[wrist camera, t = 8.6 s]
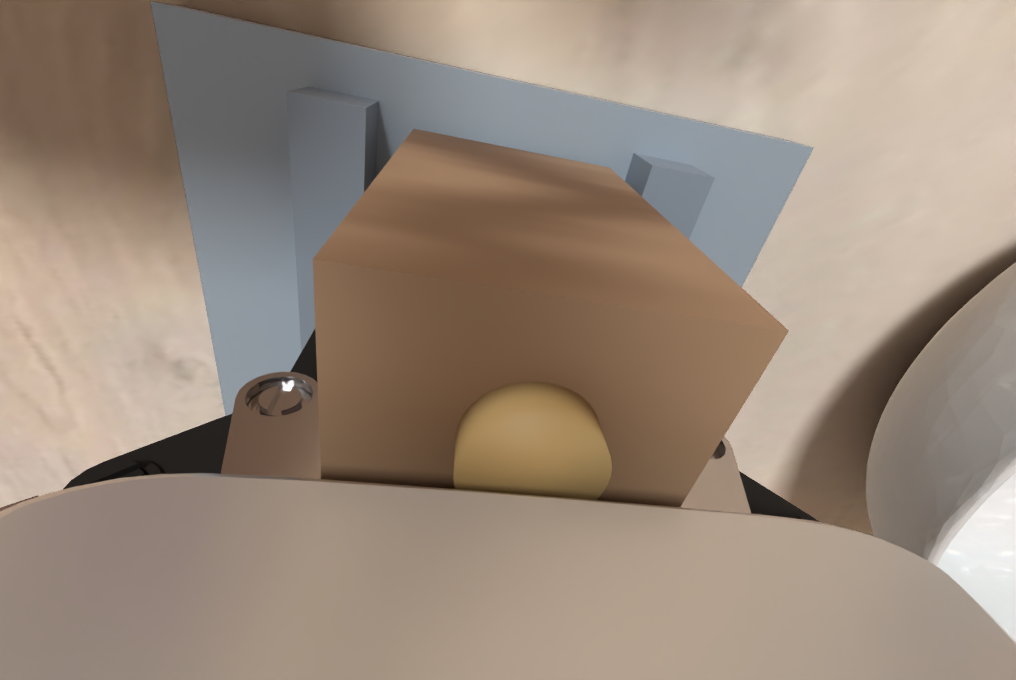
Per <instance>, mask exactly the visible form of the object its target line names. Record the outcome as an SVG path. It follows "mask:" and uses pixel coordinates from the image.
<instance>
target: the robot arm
mask: <svg viewBox="0 0 1016 680" xmlns="http://www.w3.org/2000/svg"><path fill="white" fill-rule="evenodd" d="M0 680H1016V641H1015V640H1014V639H1013V638H1012V637H1011V636H1010V635H1009V634H1008V633H1007V632H1006V631H1005V630H1004V629H1003V628H1002V627H1001V626H1000V625H999V623H998V622H997V621H996V620H995V619H994V618H993V617H992V616H991V615H990V614H989V613H988V612H987V611H986V610H985V609H984V608H983V607H982V606H981V605H980V604H979V603H978V602H977V601H976V600H975V599H974V598H973V597H972V596H971V595H970V594H969V593H967V592H966V591H965V590H964V589H963V588H962V587H961V586H960V585H959V584H958V583H957V582H956V581H955V580H953V579H952V578H951V577H950V576H949V575H948V574H947V573H945V572H944V571H943V570H941V569H940V568H939V567H937V566H936V565H934V564H933V563H931V562H929V561H927V560H925V559H923V558H922V557H920V556H918V555H916V554H914V553H912V552H910V551H908V550H906V549H904V548H902V547H900V546H897V545H895V544H892V543H890V542H887V541H885V540H882V539H880V538H877V537H875V536H872V535H869V534H866V533H862V532H859V531H855V530H852V529H849V528H845V527H841V526H837V525H832V524H827V523H822V522H819V521H818V520H816V519H815V518H813V517H811V516H810V515H808V514H807V513H805V512H803V511H802V510H800V509H799V508H797V507H795V506H794V505H792V504H791V503H789V502H788V501H786V500H784V499H783V498H781V497H780V496H778V495H776V494H775V493H773V492H772V491H770V490H768V489H767V488H765V487H764V486H762V485H760V484H759V483H757V482H756V481H754V480H752V479H751V478H749V477H748V476H746V475H744V474H743V473H741V472H740V471H739V470H738V466H737V463H736V459H735V456H734V453H733V449H732V447H731V445H730V443H729V441H728V440H727V439H726V438H725V437H723V438H722V440H721V442H720V443H719V445H718V447H717V448H716V450H715V451H714V453H713V455H712V456H711V458H710V460H709V461H708V463H707V464H706V466H705V468H704V469H703V471H702V473H701V474H700V476H699V477H698V479H697V481H696V482H695V484H694V486H693V487H692V489H691V490H690V492H689V494H688V495H687V497H686V499H685V500H684V502H683V503H682V505H681V507H670V506H658V505H646V504H635V503H623V502H611V501H599V500H587V499H574V498H562V497H549V496H537V495H524V494H512V493H499V492H486V491H473V490H460V489H447V488H433V487H420V486H406V485H393V484H379V483H366V482H352V481H338V480H325V479H321V463H320V437H319V411H318V385H317V359H316V332H315V329H314V331H313V333H312V334H311V336H310V338H309V340H308V341H307V343H306V345H305V347H304V348H303V350H302V352H301V354H300V355H299V357H298V359H297V361H296V362H295V364H294V366H293V368H292V369H291V371H290V372H275V373H269V374H266V375H262V376H259V377H256V378H255V379H253V380H251V381H249V382H247V383H246V384H245V385H244V386H243V387H242V388H241V389H240V390H239V391H238V394H237V396H236V398H235V403H234V408H233V413H232V414H230V415H227V416H224V417H222V418H219V419H216V420H214V421H211V422H208V423H206V424H203V425H200V426H198V427H195V428H192V429H190V430H187V431H184V432H182V433H179V434H177V435H174V436H171V437H169V438H166V439H163V440H161V441H158V442H155V443H153V444H150V445H147V446H145V447H142V448H139V449H137V450H134V451H131V452H129V453H126V454H123V455H121V456H118V457H115V458H113V459H110V460H107V461H105V462H102V463H100V464H98V465H96V466H94V467H92V468H90V469H88V470H86V471H84V472H83V473H81V474H80V475H78V476H77V477H76V478H74V479H73V480H71V481H70V482H69V483H68V484H67V485H66V487H65V488H64V489H63V490H60V491H56V492H52V493H49V494H45V495H42V496H35V497H32V498H29V499H25V500H22V501H19V502H16V503H13V504H10V505H7V506H4V507H1V508H0Z"/></svg>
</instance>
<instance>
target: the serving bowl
mask: <svg viewBox="0 0 1016 680" xmlns="http://www.w3.org/2000/svg"><path fill="white" fill-rule="evenodd" d="M866 501H867V510H868V516H869V520H870V524H871V528H872V532H873V535H874V536H875V537H877V538H880V539H882V540H885V541H887V542H890V543H892V544H895V545H897V546H900V547H902V548H904V549H906V550H908V551H910V552H912V553H914V554H916V555H918V556H920V557H922V558H923V559H925V560H927V561H929V562H931V563H933V564H934V565H936V566H937V567H939V568H940V569H941V570H943V571H944V572H945V573H947V574H948V575H949V576H950V577H951V578H952V579H953V580H955V581H956V582H957V583H958V584H959V585H960V586H961V587H962V588H963V589H964V590H965V591H966V592H967V593H969V594H970V595H971V596H972V597H973V598H974V599H975V600H976V601H977V602H978V603H979V604H980V605H981V606H982V607H983V608H984V609H985V610H986V611H987V612H988V613H989V614H990V615H991V616H992V617H993V618H994V619H995V620H996V621H997V622H998V623H999V625H1000V626H1001V627H1002V628H1003V629H1004V630H1005V631H1006V632H1007V633H1008V634H1009V635H1010V636H1011V637H1012V638H1013V639H1014V640H1015V641H1016V262H1015V263H1014V264H1013V265H1011V266H1010V267H1009V268H1007V269H1006V270H1005V271H1004V272H1002V273H1001V274H1000V275H999V276H997V277H996V278H995V279H994V280H992V281H991V282H990V283H989V284H988V285H987V286H986V287H984V288H983V289H982V290H981V291H980V292H979V293H977V294H976V295H975V296H974V297H973V298H972V299H971V300H970V301H968V302H967V303H966V304H965V305H964V306H963V307H962V308H961V309H960V310H959V311H958V312H957V313H956V314H955V315H954V316H953V317H952V318H951V319H950V320H949V321H948V322H947V323H946V324H945V325H944V326H943V327H942V328H941V329H940V330H939V331H938V332H937V333H936V334H935V336H934V337H933V338H932V339H931V340H930V342H929V343H928V344H927V345H926V346H925V347H924V349H923V350H922V351H921V352H920V354H919V355H918V356H917V358H916V359H915V360H914V361H913V363H912V364H911V366H910V367H909V368H908V370H907V371H906V373H905V374H904V376H903V377H902V379H901V380H900V382H899V383H898V385H897V387H896V388H895V390H894V392H893V394H892V395H891V397H890V399H889V401H888V403H887V405H886V407H885V409H884V411H883V413H882V415H881V418H880V420H879V423H878V425H877V428H876V431H875V434H874V437H873V441H872V444H871V448H870V452H869V457H868V462H867V473H866Z"/></svg>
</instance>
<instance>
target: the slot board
mask: <svg viewBox="0 0 1016 680" xmlns="http://www.w3.org/2000/svg"><path fill="white" fill-rule="evenodd" d="M150 3H151V8H152V14H153V19H154V25H155V30H156V36H157V41H158V47H159V52H160V58H161V63H162V69H163V74H164V80H165V85H166V91H167V96H168V102H169V107H170V113H171V118H172V124H173V129H174V135H175V140H176V145H177V151H178V156H179V162H180V167H181V173H182V178H183V184H184V189H185V195H186V200H187V206H188V211H189V217H190V222H191V228H192V233H193V239H194V244H195V250H196V255H197V261H198V266H199V272H200V277H201V283H202V288H203V294H204V299H205V305H206V310H207V316H208V321H209V327H210V332H211V338H212V343H213V349H214V354H215V360H216V365H217V371H218V376H219V382H220V387H221V393H222V398H223V404H224V409H225V415H226V416H227V415H230V414H232V413H233V408H234V403H235V398H236V396H237V394H238V391H239V390H240V389H241V388H242V387H243V386H244V385H245V384H246V383H247V382H249V381H251V380H253V379H255V378H256V377H259V376H262V375H266V374H269V373H275V372H290V371H291V369H292V368H293V366H294V364H295V362H296V361H297V359H298V357H299V355H300V354H301V352H302V350H303V348H304V347H305V345H306V343H307V341H308V340H309V338H310V336H311V334H312V333H313V331H314V329H315V306H314V280H313V258H314V257H315V256H316V254H317V253H318V252H319V250H320V249H321V248H322V247H323V245H324V244H325V243H326V241H327V240H328V239H329V237H330V236H331V235H332V234H333V232H334V231H335V230H336V228H337V227H338V226H339V224H340V223H341V222H342V221H343V219H344V218H345V217H346V215H347V214H348V213H349V212H350V210H351V209H352V208H353V206H354V205H355V204H356V202H357V201H358V200H359V199H360V197H361V196H362V195H363V193H364V192H365V191H366V190H367V188H368V187H369V186H370V184H371V183H372V182H373V180H374V179H375V178H376V177H377V175H378V174H379V173H380V171H381V170H382V169H383V168H384V166H385V165H386V164H387V162H388V161H389V160H390V158H391V157H392V156H393V155H394V153H395V152H396V151H397V149H398V148H399V147H400V145H401V144H402V143H403V142H404V140H405V139H406V138H407V136H408V135H409V134H410V133H411V131H412V130H413V129H418V130H423V131H428V132H433V133H438V134H443V135H448V136H453V137H458V138H463V139H469V140H474V141H479V142H484V143H489V144H494V145H499V146H504V147H509V148H514V149H519V150H524V151H529V152H534V153H539V154H544V155H549V156H554V157H559V158H564V159H569V160H574V161H579V162H584V163H589V164H594V165H599V166H604V167H609V168H611V169H612V170H613V171H614V172H615V173H616V174H617V175H618V176H619V177H621V178H622V179H623V180H624V181H625V182H626V183H627V184H628V185H629V186H630V187H632V188H633V189H634V190H635V191H636V192H637V193H638V194H639V195H640V196H641V197H643V198H644V199H645V200H646V201H647V202H648V203H649V204H650V205H651V206H652V207H653V208H655V209H656V210H657V211H658V212H659V213H660V214H661V215H662V216H663V217H664V218H666V219H667V220H668V221H669V222H670V223H671V224H672V225H673V226H674V227H675V228H677V229H678V230H679V231H680V232H681V233H682V234H683V235H684V236H685V237H686V238H688V239H689V240H690V241H691V242H692V243H693V244H694V245H695V246H696V247H697V248H698V249H700V250H701V251H702V252H703V253H704V254H705V255H706V256H707V257H708V258H709V259H711V260H712V261H713V262H714V263H715V264H716V265H717V266H718V267H719V268H720V269H722V270H723V271H724V272H725V273H726V274H727V275H728V276H729V277H730V278H731V279H733V280H734V281H735V282H736V283H737V284H738V285H739V286H740V287H741V288H742V286H743V284H744V282H745V280H746V278H747V276H748V274H749V272H750V270H751V268H752V266H753V264H754V262H755V261H756V259H757V257H758V255H759V253H760V251H761V249H762V247H763V245H764V243H765V241H766V239H767V237H768V235H769V233H770V231H771V230H772V228H773V226H774V224H775V222H776V220H777V218H778V216H779V214H780V212H781V210H782V208H783V206H784V204H785V202H786V200H787V199H788V197H789V195H790V193H791V191H792V189H793V187H794V185H795V183H796V181H797V179H798V177H799V175H800V173H801V171H802V169H803V168H804V166H805V164H806V162H807V160H808V158H809V156H810V154H811V152H812V150H813V147H809V146H806V145H802V144H799V143H796V142H792V141H788V140H783V139H779V138H774V137H770V136H765V135H761V134H756V133H752V132H747V131H743V130H738V129H734V128H729V127H725V126H720V125H716V124H711V123H707V122H702V121H698V120H693V119H689V118H684V117H680V116H675V115H671V114H666V113H662V112H657V111H653V110H648V109H643V108H639V107H634V106H630V105H625V104H621V103H616V102H612V101H607V100H603V99H598V98H594V97H589V96H585V95H580V94H576V93H571V92H567V91H562V90H558V89H553V88H549V87H544V86H540V85H535V84H531V83H526V82H522V81H517V80H513V79H508V78H504V77H499V76H495V75H490V74H486V73H481V72H476V71H472V70H467V69H463V68H458V67H454V66H449V65H445V64H440V63H436V62H431V61H427V60H422V59H418V58H413V57H409V56H404V55H400V54H395V53H391V52H386V51H382V50H377V49H373V48H368V47H364V46H359V45H355V44H350V43H346V42H341V41H337V40H332V39H328V38H323V37H318V36H314V35H309V34H305V33H300V32H296V31H291V30H287V29H282V28H278V27H273V26H269V25H264V24H260V23H255V22H251V21H246V20H242V19H237V18H233V17H228V16H224V15H219V14H215V13H210V12H206V11H201V10H197V9H192V8H188V7H183V6H179V5H173V4H166V3H159V2H152V1H150Z"/></svg>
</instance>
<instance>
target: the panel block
mask: <svg viewBox="0 0 1016 680" xmlns="http://www.w3.org/2000/svg"><path fill="white" fill-rule="evenodd" d="M313 280H314V306H315V332H316V359H317V385H318V411H319V437H320V463H321V479H325V480H338V481H352V482H366V483H379V484H393V485H406V486H420V487H433V488H447V489H460V490H473V491H486V492H499V493H512V494H524V495H537V496H549V497H562V498H574V499H587V500H599V501H611V502H623V503H635V504H646V505H658V506H670V507H681V505H682V503H683V502H684V500H685V499H686V497H687V495H688V494H689V492H690V490H691V489H692V487H693V486H694V484H695V482H696V481H697V479H698V477H699V476H700V474H701V473H702V471H703V469H704V468H705V466H706V464H707V463H708V461H709V460H710V458H711V456H712V455H713V453H714V451H715V450H716V448H717V447H718V445H719V443H720V442H721V440H722V438H723V437H724V435H725V434H726V432H727V430H728V429H729V427H730V425H731V424H732V422H733V421H734V419H735V417H736V416H737V414H738V412H739V411H740V409H741V408H742V406H743V404H744V403H745V401H746V399H747V398H748V396H749V395H750V393H751V391H752V390H753V388H754V386H755V385H756V383H757V382H758V380H759V378H760V377H761V375H762V374H763V372H764V370H765V369H766V367H767V365H768V364H769V362H770V361H771V359H772V357H773V356H774V354H775V352H776V351H777V349H778V348H779V346H780V344H781V343H782V341H783V339H784V338H785V336H786V335H787V333H788V330H787V329H786V328H785V327H784V326H783V325H782V324H781V323H780V322H779V321H778V320H776V319H775V318H774V317H773V316H772V315H771V314H770V313H769V312H768V311H767V310H765V309H764V308H763V307H762V306H761V305H760V304H759V303H758V302H757V301H756V300H754V299H753V298H752V297H751V296H750V295H749V294H748V293H747V292H746V291H745V290H743V289H742V288H741V287H740V286H739V285H738V284H737V283H736V282H735V281H734V280H733V279H731V278H730V277H729V276H728V275H727V274H726V273H725V272H724V271H723V270H722V269H720V268H719V267H718V266H717V265H716V264H715V263H714V262H713V261H712V260H711V259H709V258H708V257H707V256H706V255H705V254H704V253H703V252H702V251H701V250H700V249H698V248H697V247H696V246H695V245H694V244H693V243H692V242H691V241H690V240H689V239H688V238H686V237H685V236H684V235H683V234H682V233H681V232H680V231H679V230H678V229H677V228H675V227H674V226H673V225H672V224H671V223H670V222H669V221H668V220H667V219H666V218H664V217H663V216H662V215H661V214H660V213H659V212H658V211H657V210H656V209H655V208H653V207H652V206H651V205H650V204H649V203H648V202H647V201H646V200H645V199H644V198H643V197H641V196H640V195H639V194H638V193H637V192H636V191H635V190H634V189H633V188H632V187H630V186H629V185H628V184H627V183H626V182H625V181H624V180H623V179H622V178H621V177H619V176H618V175H617V174H616V173H615V172H614V171H613V170H612V169H611V168H609V167H604V166H599V165H594V164H589V163H584V162H579V161H574V160H569V159H564V158H559V157H554V156H549V155H544V154H539V153H534V152H529V151H524V150H519V149H514V148H509V147H504V146H499V145H494V144H489V143H484V142H479V141H474V140H469V139H463V138H458V137H453V136H448V135H443V134H438V133H433V132H428V131H423V130H418V129H413V130H412V131H411V133H410V134H409V135H408V136H407V138H406V139H405V140H404V142H403V143H402V144H401V145H400V147H399V148H398V149H397V151H396V152H395V153H394V155H393V156H392V157H391V158H390V160H389V161H388V162H387V164H386V165H385V166H384V168H383V169H382V170H381V171H380V173H379V174H378V175H377V177H376V178H375V179H374V180H373V182H372V183H371V184H370V186H369V187H368V188H367V190H366V191H365V192H364V193H363V195H362V196H361V197H360V199H359V200H358V201H357V202H356V204H355V205H354V206H353V208H352V209H351V210H350V212H349V213H348V214H347V215H346V217H345V218H344V219H343V221H342V222H341V223H340V224H339V226H338V227H337V228H336V230H335V231H334V232H333V234H332V235H331V236H330V237H329V239H328V240H327V241H326V243H325V244H324V245H323V247H322V248H321V249H320V250H319V252H318V253H317V254H316V256H315V257H314V258H313Z"/></svg>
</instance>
